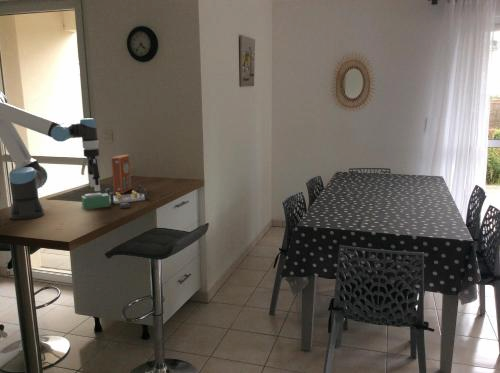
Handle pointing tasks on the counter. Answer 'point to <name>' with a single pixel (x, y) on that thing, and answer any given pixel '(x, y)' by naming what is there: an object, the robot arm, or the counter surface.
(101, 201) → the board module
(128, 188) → the orange cardboard box
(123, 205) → the tape roll
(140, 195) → the chassis
